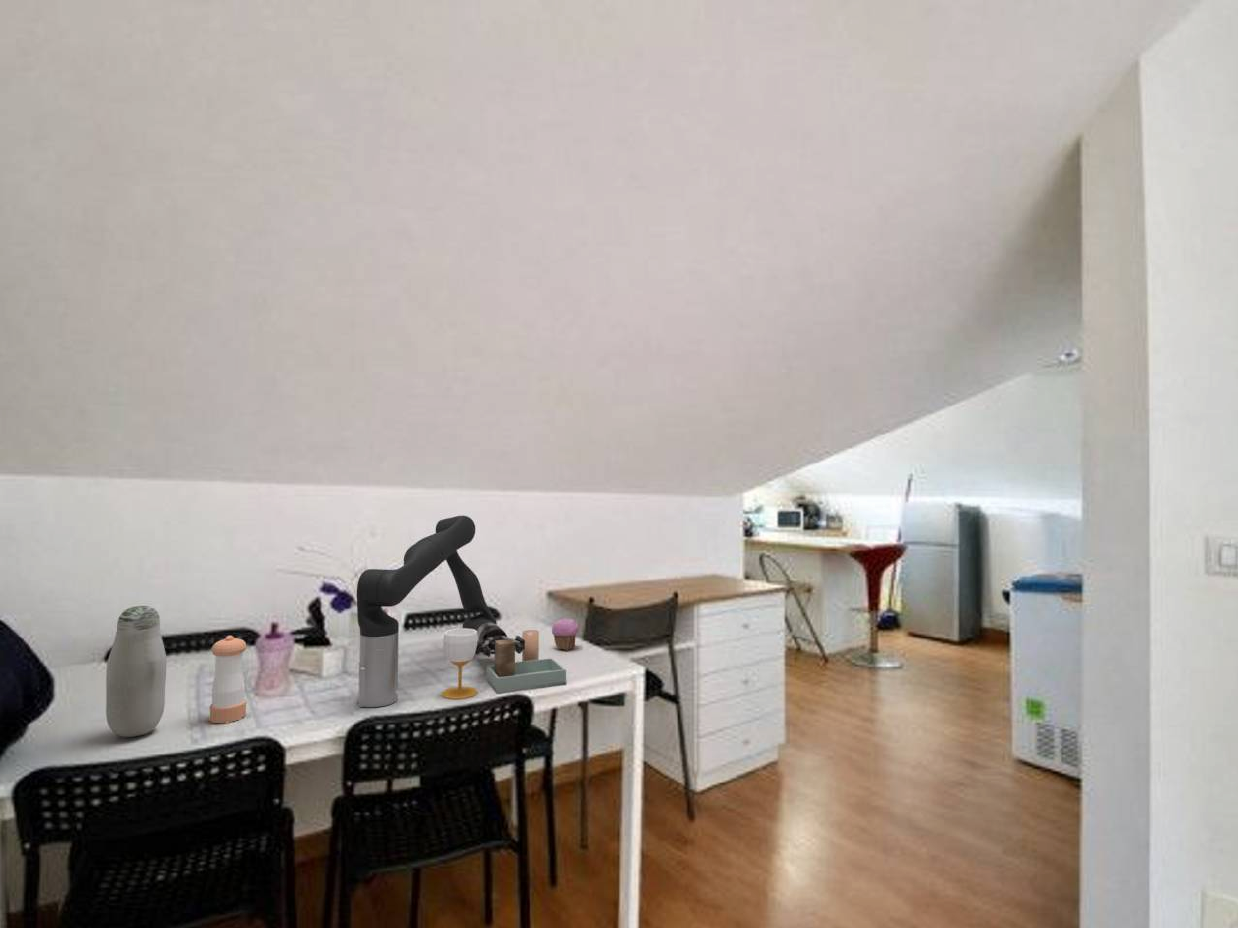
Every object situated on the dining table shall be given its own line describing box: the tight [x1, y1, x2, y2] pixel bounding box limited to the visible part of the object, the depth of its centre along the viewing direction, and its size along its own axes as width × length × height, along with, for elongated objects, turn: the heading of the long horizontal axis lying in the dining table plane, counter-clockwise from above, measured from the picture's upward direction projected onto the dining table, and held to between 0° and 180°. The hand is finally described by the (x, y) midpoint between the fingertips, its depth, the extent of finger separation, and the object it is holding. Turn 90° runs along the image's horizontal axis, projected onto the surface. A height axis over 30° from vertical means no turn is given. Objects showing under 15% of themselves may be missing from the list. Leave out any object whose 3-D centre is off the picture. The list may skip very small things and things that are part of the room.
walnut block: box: [494, 639, 516, 677], centre depth 175 cm, size 4×4×11 cm
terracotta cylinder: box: [521, 629, 540, 662], centre depth 189 cm, size 5×5×11 cm
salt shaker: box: [209, 635, 247, 724], centre depth 150 cm, size 7×7×19 cm
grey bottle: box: [105, 605, 167, 738], centre depth 140 cm, size 10×10×28 cm
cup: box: [442, 628, 478, 700], centre depth 168 cm, size 9×9×16 cm
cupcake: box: [551, 618, 580, 651], centre depth 212 cm, size 9×9×10 cm
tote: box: [486, 657, 567, 695], centre depth 177 cm, size 19×12×4 cm, turn 114°
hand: (504, 651), depth 175 cm, fingers open, 8 cm apart
